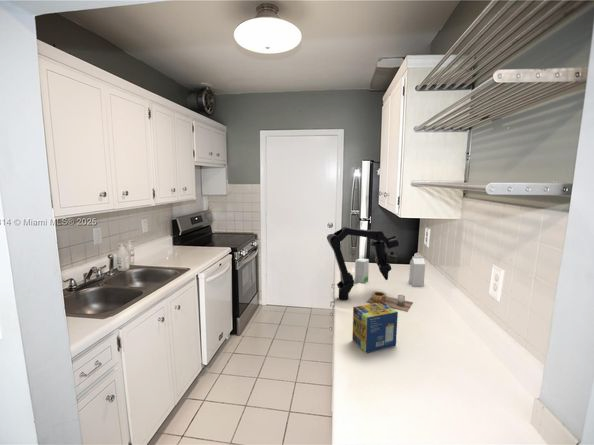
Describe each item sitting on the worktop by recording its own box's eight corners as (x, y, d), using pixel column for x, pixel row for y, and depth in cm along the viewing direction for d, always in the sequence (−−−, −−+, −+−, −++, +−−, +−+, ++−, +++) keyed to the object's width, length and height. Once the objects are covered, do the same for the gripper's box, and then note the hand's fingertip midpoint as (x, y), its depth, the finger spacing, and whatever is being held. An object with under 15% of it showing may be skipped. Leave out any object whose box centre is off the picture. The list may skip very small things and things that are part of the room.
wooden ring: (383, 303, 162) (383, 297, 162) (370, 300, 166) (370, 294, 166) (387, 299, 168) (387, 293, 168) (374, 296, 172) (374, 290, 172)
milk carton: (423, 286, 192) (425, 258, 189) (412, 286, 192) (414, 257, 189) (419, 282, 199) (421, 255, 196) (408, 282, 199) (410, 255, 196)
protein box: (351, 340, 129) (352, 306, 127) (381, 333, 134) (382, 301, 132) (365, 353, 119) (366, 317, 117) (396, 346, 125) (398, 311, 122)
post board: (407, 314, 153) (408, 302, 152) (366, 304, 164) (366, 293, 163) (413, 304, 164) (413, 293, 163) (374, 296, 176) (374, 285, 175)
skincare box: (363, 285, 195) (364, 262, 192) (354, 282, 199) (354, 260, 196) (368, 281, 201) (369, 259, 199) (359, 279, 205) (360, 257, 203)
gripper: (398, 253, 159) (403, 280, 161) (391, 244, 177) (396, 268, 180) (377, 257, 160) (382, 284, 163) (372, 247, 179) (377, 271, 181)
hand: (385, 276), depth 172 cm, fingers open, 9 cm apart
